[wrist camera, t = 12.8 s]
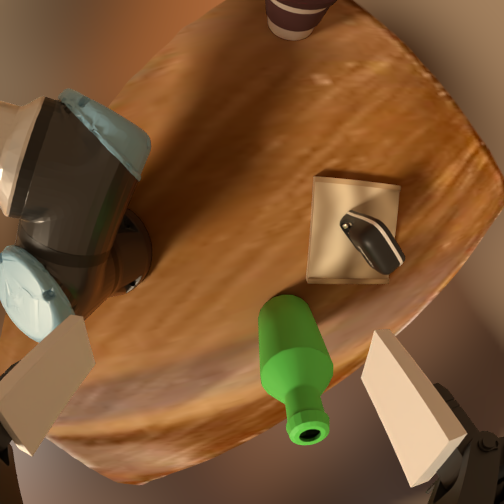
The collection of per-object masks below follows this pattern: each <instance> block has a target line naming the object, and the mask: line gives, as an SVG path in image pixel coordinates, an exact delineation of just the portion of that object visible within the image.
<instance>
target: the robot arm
mask: <svg viewBox="0 0 504 504" xmlns="http://www.w3.org/2000/svg"><path fill="white" fill-rule="evenodd" d="M58 98H59V100H53V99H51V98H47V97H45V96H41V97H39V98H37V99H36V100H34V101H32V102H30V103H28V104H27V105H24V106H17V105H13V104H10V103H7V102H3V101H0V207H1V209H2V211H3V213H4V215H5V216H8V217H13V218H19V219H20V221H19V226H18V231H17V237H16V242H15V244H14V245H11V246H7V247H6V248H5V249H4V250H3V252H1V253H0V300H1V303H2V305H3V307H4V308H5V310H6V312H7V314H8V315H9V317H10V318H11V320H12V321H13V322H14V323H15V325H16V326H17V327H18V328H19V329H20V330H21V331H22V332H23V333H24V334H26V335H27V336H28V337H30V338H31V339H33V340H35V341H37V342H39V344H38V345H37V346H35V347H34V348H33V349H32V350H31V351H30V352H29V353H28V354H27V355H26V356H25V357H24V358H23V359H22V360H20V361H18V362H16V363H15V364H13V365H11V366H10V367H9V368H8V369H7V370H6V371H5V374H4V373H3V374H2V375H1V376H0V504H23V501H22V497H21V493H20V489H19V484H18V479H17V474H16V469H15V462H14V456H13V449H12V446H11V445H10V444H9V443H10V442H11V440H13V441H14V443H15V444H16V445H17V447H18V448H19V449H20V450H22V451H24V452H25V453H27V454H29V455H31V456H33V455H34V453H35V452H36V450H37V448H38V447H39V445H40V444H41V442H42V441H43V439H44V437H45V436H46V434H47V433H48V431H49V430H50V428H51V427H52V425H53V424H54V422H55V421H56V419H57V418H58V416H59V415H60V413H61V412H62V410H63V409H64V407H65V406H66V405H67V403H68V402H69V400H70V399H71V397H72V396H73V395H74V393H75V392H76V390H77V389H78V387H79V386H80V385H81V383H82V382H83V381H84V379H85V378H86V376H87V375H88V374H89V372H90V371H91V370H92V368H93V367H94V365H95V364H96V363H95V360H94V357H93V353H92V350H91V346H90V343H89V339H88V335H87V331H86V327H85V323H84V320H85V319H86V318H87V317H88V316H89V315H91V314H92V313H93V312H94V311H95V310H96V309H97V308H98V307H99V306H100V305H101V304H102V303H103V302H104V301H105V300H106V299H107V298H108V297H113V296H118V295H123V294H126V293H128V292H130V291H131V290H133V289H134V288H135V287H136V286H137V285H138V284H139V283H140V282H141V281H142V280H143V279H144V278H145V276H146V275H147V273H148V270H149V268H150V264H151V259H152V247H151V242H150V238H149V235H148V232H147V230H146V228H145V226H144V224H143V223H142V221H141V220H140V219H139V218H138V217H137V216H136V215H135V214H134V213H133V212H132V211H131V210H129V209H127V207H128V204H129V202H130V199H131V197H132V194H133V192H134V190H135V188H136V185H137V183H138V181H139V182H140V180H141V173H142V170H143V168H144V165H145V163H146V160H147V158H148V156H149V153H150V150H151V141H150V138H149V136H148V134H147V133H146V132H145V131H143V130H142V129H141V128H139V127H138V126H136V125H135V124H133V123H132V122H130V121H129V120H127V119H126V118H124V117H122V116H121V115H119V114H117V113H116V112H114V111H112V110H111V109H109V108H107V107H105V106H104V105H102V104H100V103H98V102H96V101H94V100H91V99H90V98H88V97H86V96H84V95H82V94H81V93H79V92H77V91H74V90H72V89H65V90H64V91H63V92H62V93H61V94H59V96H58ZM361 379H362V381H363V383H364V385H365V387H366V389H367V391H368V394H369V395H370V398H371V400H372V402H373V404H374V406H375V408H376V410H377V413H378V415H379V417H380V419H381V421H382V423H383V425H384V427H385V430H386V432H387V434H388V436H389V438H390V441H391V443H392V445H393V447H394V450H395V452H396V454H397V457H398V459H399V461H400V463H401V466H402V468H403V470H404V472H405V475H406V477H407V480H408V482H409V485H410V487H414V486H416V485H419V484H422V483H424V482H427V481H429V480H430V479H431V477H432V476H433V475H434V474H435V473H436V472H437V474H438V476H439V478H438V479H437V480H436V481H435V482H434V483H433V485H432V486H431V487H430V488H429V489H428V490H427V492H426V493H427V494H428V493H429V492H430V491H431V490H432V489H433V491H432V494H431V496H430V499H429V502H428V504H504V437H500V438H498V437H497V436H496V435H495V434H493V433H491V432H488V431H481V432H479V431H478V430H477V428H476V427H475V425H474V424H473V423H472V421H471V420H470V418H469V417H468V416H467V414H466V413H465V412H464V410H463V409H462V408H461V407H459V404H458V402H457V401H456V400H454V397H453V396H452V394H451V393H450V392H449V391H448V390H447V389H446V388H445V387H443V386H442V385H440V384H439V383H436V384H432V383H431V382H430V380H429V379H428V378H427V376H426V375H425V374H424V372H423V371H422V370H421V369H420V367H419V366H418V365H417V363H416V362H415V361H414V359H413V358H412V357H411V356H410V354H409V353H408V352H407V351H406V349H405V348H404V347H403V346H402V344H401V343H400V342H399V341H398V339H397V338H396V337H395V336H394V334H393V333H392V332H391V331H390V329H383V330H374V334H373V338H372V342H371V345H370V349H369V353H368V356H367V360H366V363H365V367H364V370H363V373H362V376H361Z"/></svg>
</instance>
